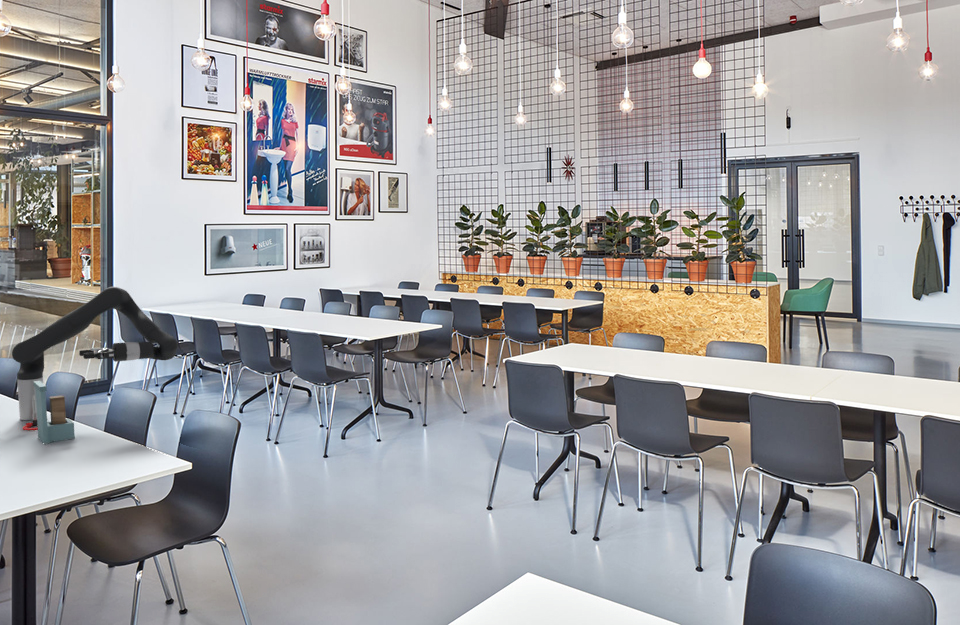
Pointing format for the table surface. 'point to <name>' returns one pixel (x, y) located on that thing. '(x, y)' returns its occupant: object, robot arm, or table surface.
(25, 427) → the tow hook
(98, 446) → the table surface
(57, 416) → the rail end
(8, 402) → the table surface
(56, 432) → the teal holder stand
